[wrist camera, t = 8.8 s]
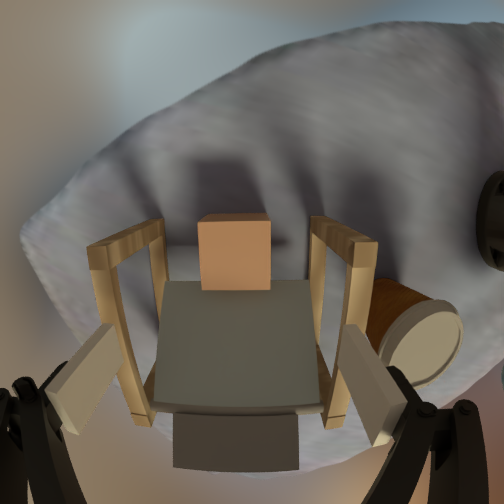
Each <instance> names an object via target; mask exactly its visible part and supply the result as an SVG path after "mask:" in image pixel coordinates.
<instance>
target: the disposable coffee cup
mask: <svg viewBox="0 0 504 504" xmlns="http://www.w3.org/2000/svg"><path fill="white" fill-rule="evenodd" d="M365 333H366V335H367V337H368V339H369V341H370V344H371V346H372V348H373V349H374V351H375V352H376V354H377V355H378V357H379V358H380V360H381V361H382V363H383V364H384V366H385V367H387V366H393V365H394V366H395V367H397V368H398V369H400V370H401V371H402V372H403V374H404V375H405V377H406V378H407V379H408V381H409V383H410V384H411V385H412V387H413V388H414V389H415V390H418V389H420V388H423V387H425V386H427V385H429V384H430V383H432V382H433V381H435V380H436V379H437V378H438V377H440V376H441V375H442V374H443V373H444V372H445V371H446V370H447V369H448V367H449V366H450V365H451V363H452V362H453V361H454V359H455V357H456V355H457V354H458V352H459V349H460V347H461V344H462V340H463V324H462V321H461V319H460V318H459V314H458V312H457V310H456V308H455V307H454V306H453V305H452V304H451V303H449V302H447V301H444V300H439V299H438V300H433V299H432V298H430V297H427V296H425V295H423V294H421V293H419V292H417V291H415V290H413V289H410V288H408V287H406V286H404V285H402V284H400V283H397V282H395V281H393V280H391V279H388V278H379V279H376V280H374V281H373V288H372V295H371V302H370V308H369V315H368V320H367V326H366V332H365Z"/></svg>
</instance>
